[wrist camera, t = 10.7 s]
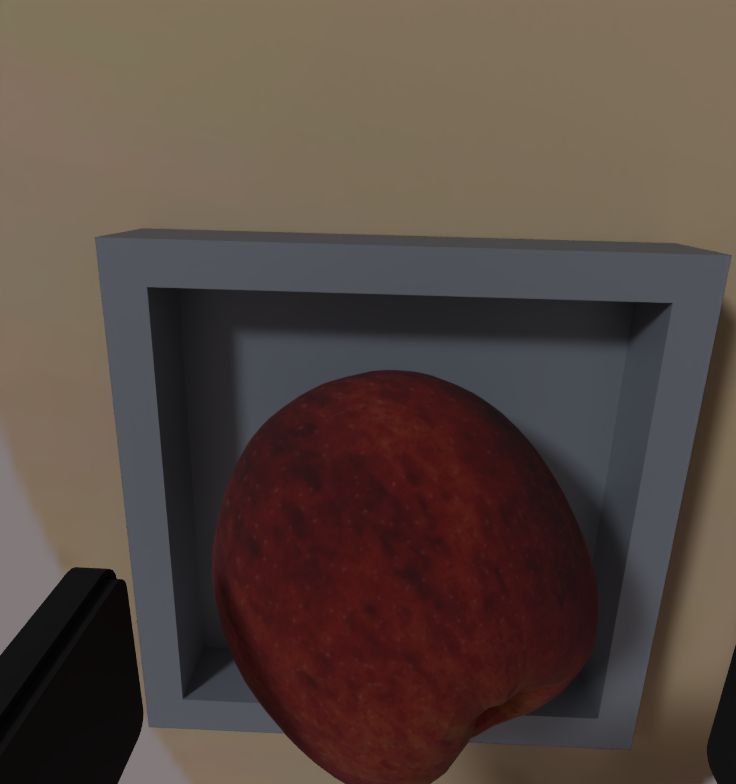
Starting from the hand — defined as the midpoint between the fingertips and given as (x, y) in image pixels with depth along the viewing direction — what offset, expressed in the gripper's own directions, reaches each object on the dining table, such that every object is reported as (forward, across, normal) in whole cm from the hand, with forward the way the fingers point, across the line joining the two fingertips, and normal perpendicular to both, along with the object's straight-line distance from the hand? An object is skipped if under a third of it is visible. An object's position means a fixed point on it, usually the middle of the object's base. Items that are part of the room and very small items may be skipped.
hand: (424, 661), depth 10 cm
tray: (+8, 0, +1) cm, 8 cm away
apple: (+7, +1, +1) cm, 8 cm away
